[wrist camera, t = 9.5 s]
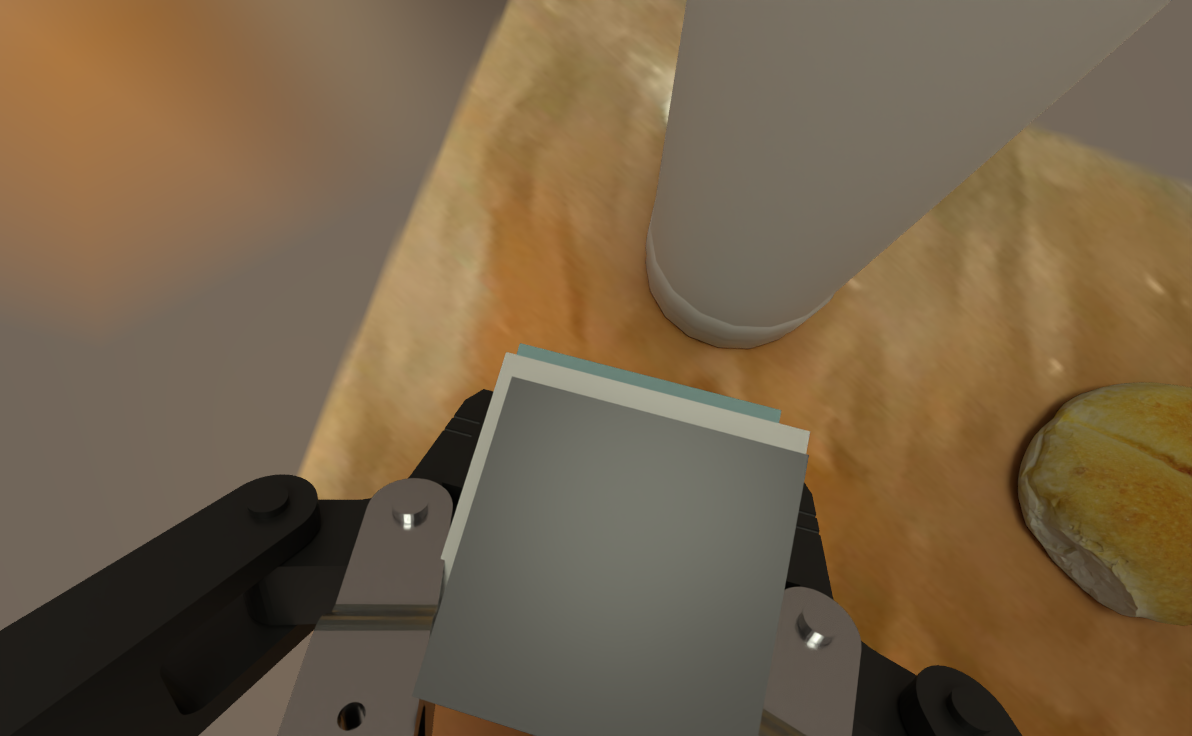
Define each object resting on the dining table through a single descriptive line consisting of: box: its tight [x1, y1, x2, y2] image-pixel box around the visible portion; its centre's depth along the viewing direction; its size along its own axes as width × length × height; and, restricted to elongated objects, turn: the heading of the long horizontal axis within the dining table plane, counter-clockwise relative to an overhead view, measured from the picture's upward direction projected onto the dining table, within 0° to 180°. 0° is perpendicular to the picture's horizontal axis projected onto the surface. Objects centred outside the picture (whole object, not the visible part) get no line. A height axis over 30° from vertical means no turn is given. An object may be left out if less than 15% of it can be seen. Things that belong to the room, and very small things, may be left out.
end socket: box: [517, 343, 781, 423], centre depth 20 cm, size 10×10×4 cm
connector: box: [412, 352, 810, 736], centre depth 11 cm, size 4×4×11 cm
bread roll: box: [1018, 382, 1192, 626], centre depth 20 cm, size 8×9×4 cm
